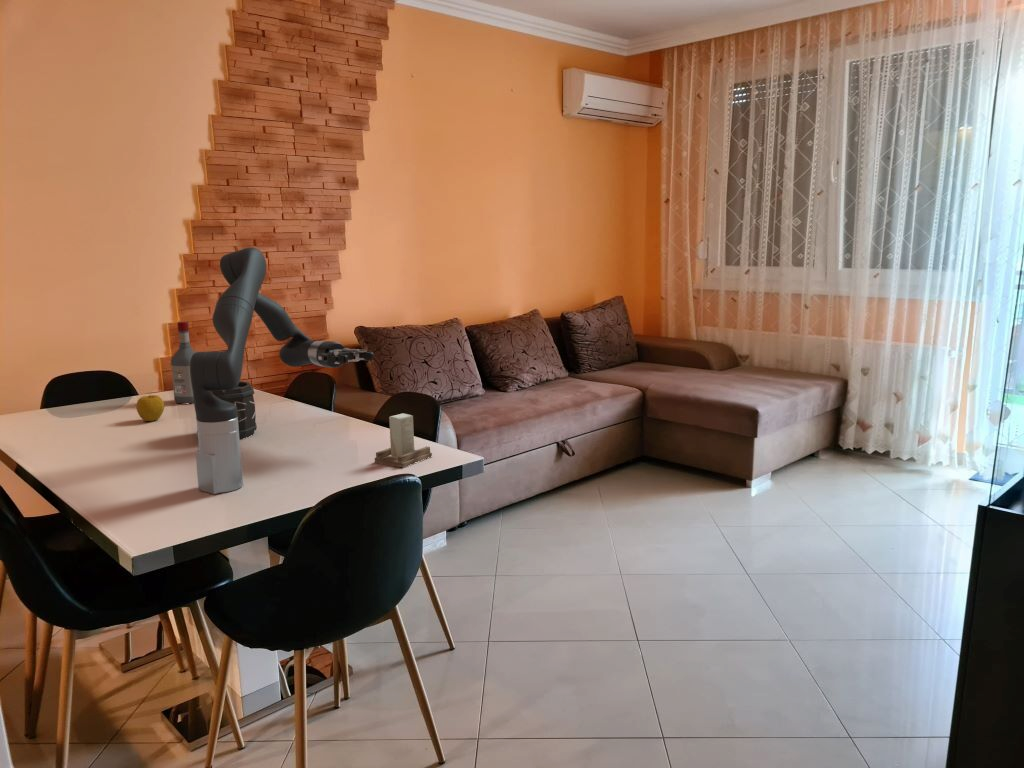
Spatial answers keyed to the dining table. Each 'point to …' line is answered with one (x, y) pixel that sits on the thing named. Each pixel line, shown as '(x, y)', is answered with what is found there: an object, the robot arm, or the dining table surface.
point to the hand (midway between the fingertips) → (360, 358)
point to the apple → (150, 407)
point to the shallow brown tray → (402, 457)
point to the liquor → (182, 367)
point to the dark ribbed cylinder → (241, 406)
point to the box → (401, 434)
